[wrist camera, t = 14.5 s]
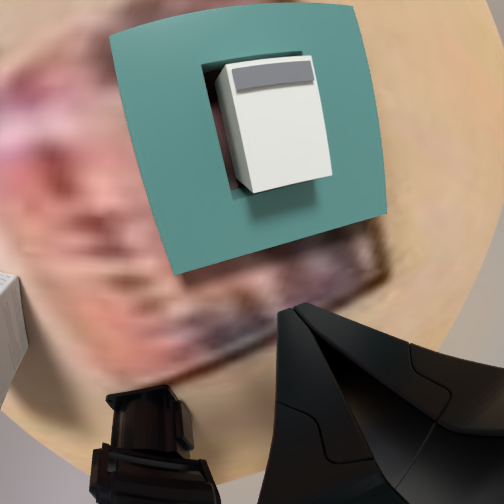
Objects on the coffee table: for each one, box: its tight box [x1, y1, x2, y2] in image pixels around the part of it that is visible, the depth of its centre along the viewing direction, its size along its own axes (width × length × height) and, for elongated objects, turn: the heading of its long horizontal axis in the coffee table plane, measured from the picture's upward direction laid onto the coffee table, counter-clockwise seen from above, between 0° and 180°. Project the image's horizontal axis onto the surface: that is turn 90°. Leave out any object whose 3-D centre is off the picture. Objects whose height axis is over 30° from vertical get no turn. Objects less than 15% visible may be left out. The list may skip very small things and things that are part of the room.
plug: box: [214, 55, 332, 193], centre depth 14 cm, size 4×6×5 cm, turn 12°
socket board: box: [109, 3, 387, 275], centre depth 15 cm, size 14×14×2 cm
